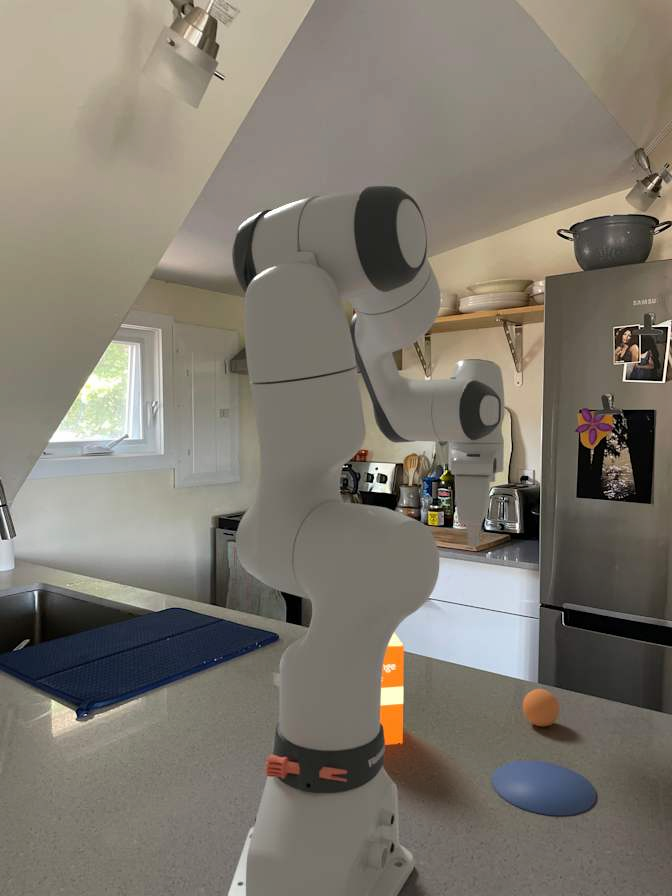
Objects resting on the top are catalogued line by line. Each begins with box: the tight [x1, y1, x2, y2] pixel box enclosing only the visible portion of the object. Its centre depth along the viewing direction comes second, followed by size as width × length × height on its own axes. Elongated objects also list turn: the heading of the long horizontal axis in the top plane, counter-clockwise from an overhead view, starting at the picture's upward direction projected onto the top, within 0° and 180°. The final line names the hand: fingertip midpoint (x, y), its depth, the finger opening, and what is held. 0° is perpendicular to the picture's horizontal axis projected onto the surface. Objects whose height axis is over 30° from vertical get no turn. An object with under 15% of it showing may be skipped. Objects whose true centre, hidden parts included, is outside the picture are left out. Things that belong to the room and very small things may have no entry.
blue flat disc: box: [491, 760, 597, 817], centre depth 91 cm, size 13×13×1 cm
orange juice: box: [380, 631, 405, 746], centre depth 106 cm, size 8×9×20 cm
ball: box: [522, 688, 560, 727], centre depth 109 cm, size 6×6×6 cm
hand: (474, 544), depth 115 cm, fingers closed
